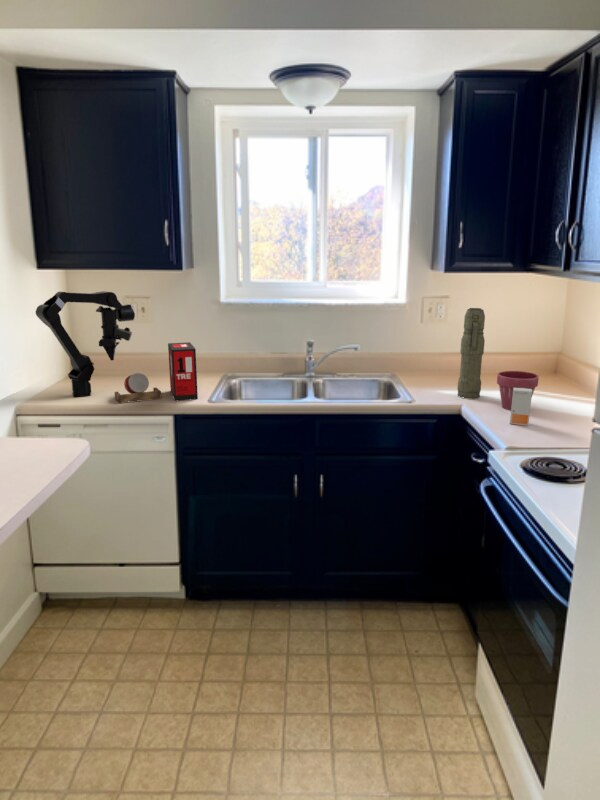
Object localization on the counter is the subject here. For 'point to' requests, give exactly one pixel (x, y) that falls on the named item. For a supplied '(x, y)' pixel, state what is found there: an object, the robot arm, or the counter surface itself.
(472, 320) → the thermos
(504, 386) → the plant pot
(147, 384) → the canned food
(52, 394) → the counter surface
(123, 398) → the tan bone-shaped block
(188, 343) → the cleaning product box
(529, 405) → the skincare box
